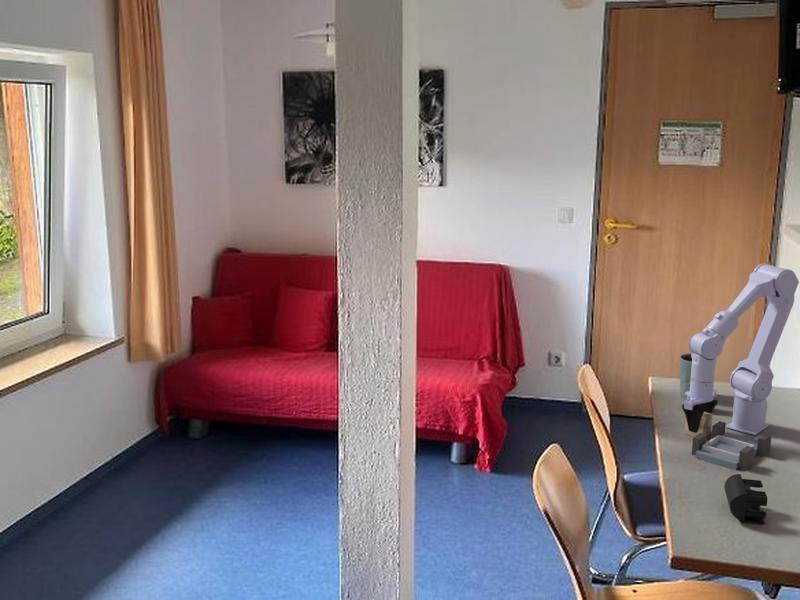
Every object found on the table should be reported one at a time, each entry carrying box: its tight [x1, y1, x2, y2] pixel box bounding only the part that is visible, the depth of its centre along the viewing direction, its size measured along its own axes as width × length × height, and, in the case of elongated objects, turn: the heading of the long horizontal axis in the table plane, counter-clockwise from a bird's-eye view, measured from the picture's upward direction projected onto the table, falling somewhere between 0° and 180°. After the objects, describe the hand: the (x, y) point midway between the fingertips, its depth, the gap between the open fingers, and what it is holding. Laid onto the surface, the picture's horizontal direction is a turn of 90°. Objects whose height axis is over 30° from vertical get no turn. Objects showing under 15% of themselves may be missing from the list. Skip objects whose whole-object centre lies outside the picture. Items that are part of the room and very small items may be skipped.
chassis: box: [691, 420, 772, 471], centre depth 207 cm, size 18×13×4 cm
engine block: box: [683, 412, 714, 437], centre depth 219 cm, size 5×5×6 cm
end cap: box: [724, 473, 768, 526], centre depth 176 cm, size 10×7×7 cm
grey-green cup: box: [679, 352, 717, 400], centre depth 246 cm, size 10×10×12 cm
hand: (697, 428), depth 219 cm, fingers closed on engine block, 5 cm apart
